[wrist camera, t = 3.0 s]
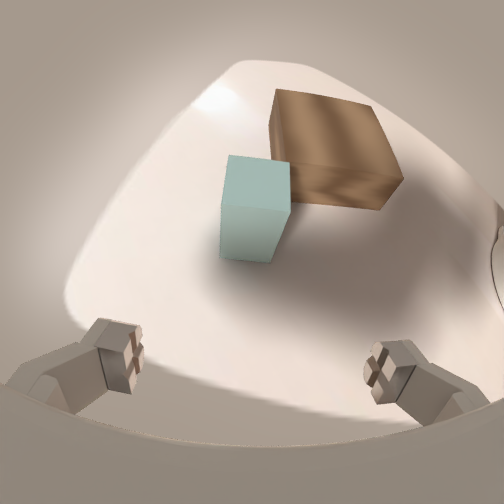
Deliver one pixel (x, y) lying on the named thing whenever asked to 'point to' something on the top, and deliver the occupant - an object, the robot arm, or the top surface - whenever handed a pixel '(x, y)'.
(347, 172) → the walnut block
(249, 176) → the tea tin
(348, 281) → the top surface
